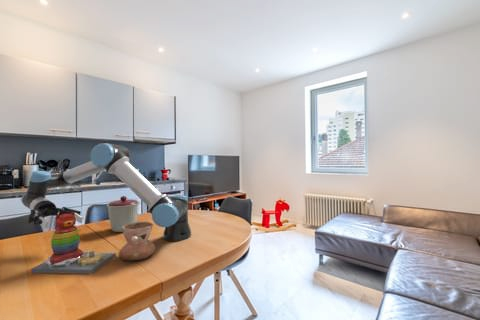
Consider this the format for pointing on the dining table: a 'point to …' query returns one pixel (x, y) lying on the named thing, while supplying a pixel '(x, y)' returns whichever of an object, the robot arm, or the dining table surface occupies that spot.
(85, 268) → the gear board
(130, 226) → the ceramic jug
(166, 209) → the robot arm
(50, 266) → the gear
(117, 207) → the canister
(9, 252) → the dining table surface
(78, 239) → the stacking bear
